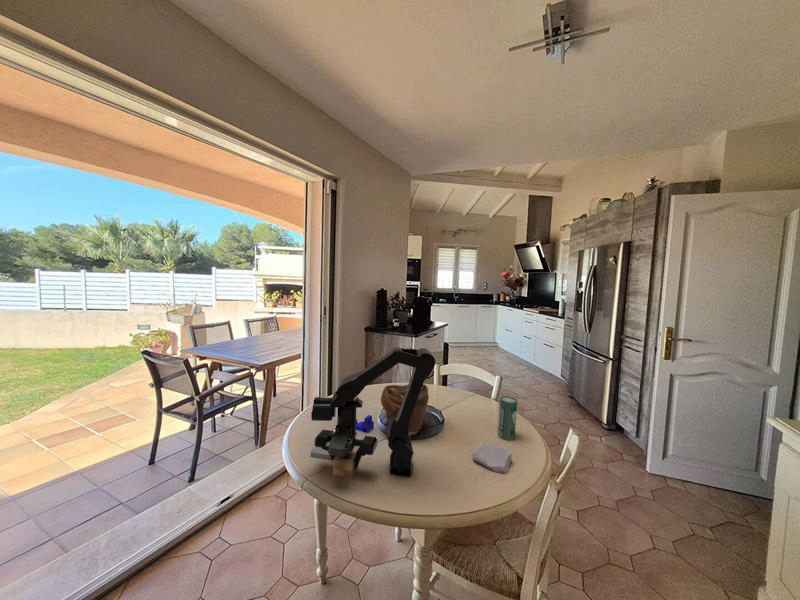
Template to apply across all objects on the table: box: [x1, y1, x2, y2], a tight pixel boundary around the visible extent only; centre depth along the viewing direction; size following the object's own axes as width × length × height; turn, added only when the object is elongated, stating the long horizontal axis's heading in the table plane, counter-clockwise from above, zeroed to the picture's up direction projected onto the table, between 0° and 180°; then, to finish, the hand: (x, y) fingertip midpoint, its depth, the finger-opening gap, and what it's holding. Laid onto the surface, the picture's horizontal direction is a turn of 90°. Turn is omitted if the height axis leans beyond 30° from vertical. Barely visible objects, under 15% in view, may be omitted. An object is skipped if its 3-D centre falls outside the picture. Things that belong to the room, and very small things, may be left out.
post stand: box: [310, 427, 358, 461], centre depth 105 cm, size 12×12×7 cm
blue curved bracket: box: [356, 414, 375, 434], centre depth 121 cm, size 12×4×6 cm, turn 63°
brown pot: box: [380, 383, 430, 437], centre depth 121 cm, size 18×20×18 cm
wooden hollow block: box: [332, 450, 357, 479], centre depth 94 cm, size 6×6×5 cm
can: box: [497, 395, 518, 441], centre depth 118 cm, size 6×6×15 cm
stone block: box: [472, 441, 512, 474], centre depth 102 cm, size 12×5×10 cm
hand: (345, 467), depth 94 cm, fingers open, 7 cm apart
